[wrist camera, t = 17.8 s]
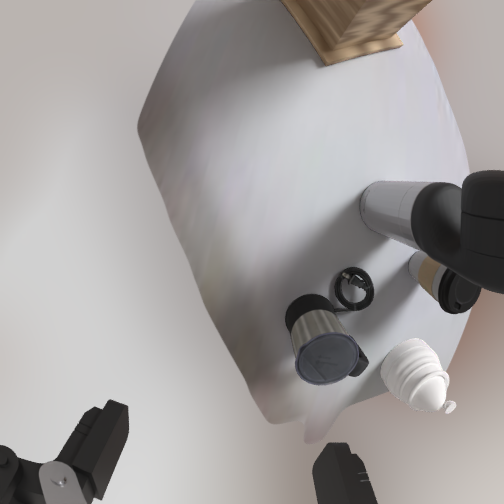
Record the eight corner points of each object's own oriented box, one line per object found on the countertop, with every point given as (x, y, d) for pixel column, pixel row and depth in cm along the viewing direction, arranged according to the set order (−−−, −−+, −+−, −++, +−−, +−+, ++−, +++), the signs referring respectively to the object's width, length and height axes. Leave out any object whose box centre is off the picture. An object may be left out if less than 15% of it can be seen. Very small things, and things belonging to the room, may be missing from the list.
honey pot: (431, 331, 53) (476, 374, 36) (424, 376, 56) (459, 421, 38) (382, 347, 53) (420, 399, 36) (378, 391, 56) (407, 444, 39)
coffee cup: (397, 288, 50) (439, 321, 36) (403, 240, 48) (450, 260, 34) (434, 286, 51) (478, 314, 36) (440, 240, 48) (489, 259, 34)
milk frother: (278, 333, 52) (286, 382, 38) (302, 252, 49) (323, 280, 34) (346, 344, 53) (372, 390, 39) (374, 270, 50) (414, 300, 35)
